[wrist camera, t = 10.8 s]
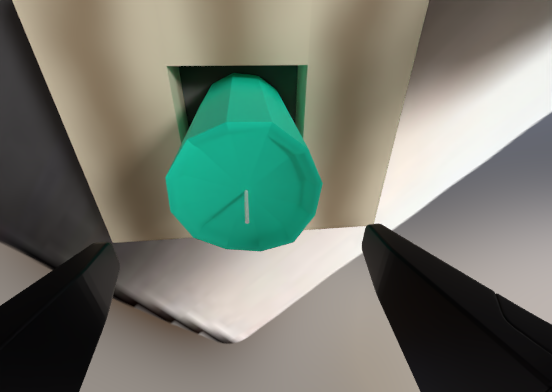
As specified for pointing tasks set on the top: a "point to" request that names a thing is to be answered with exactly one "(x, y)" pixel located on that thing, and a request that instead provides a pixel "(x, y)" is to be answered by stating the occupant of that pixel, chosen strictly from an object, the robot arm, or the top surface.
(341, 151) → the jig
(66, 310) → the robot arm
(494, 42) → the top surface
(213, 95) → the candle
